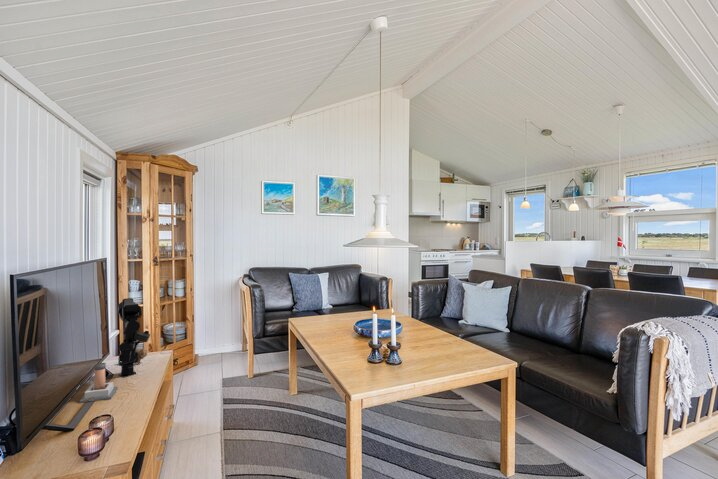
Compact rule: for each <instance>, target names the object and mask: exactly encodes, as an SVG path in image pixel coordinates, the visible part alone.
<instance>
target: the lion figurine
mask: <svg viewBox="0 0 718 479" xmlns="http://www.w3.org/2000/svg"><path fill="white" fill-rule="evenodd" d="M136 352H137V353H138V354H139V356H138V362H137V363H136V365H137V366H140V365H141V364H142V362H141V360H144V359H145V358H146V357H147V356H148V353H149V351H148V349H146V348H142V349H140V350H138V351H136Z"/></svg>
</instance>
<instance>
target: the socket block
mask: <svg viewBox="0 0 718 479" xmlns="http://www.w3.org/2000/svg"><path fill="white" fill-rule="evenodd" d="M114 384H115V383H114V381H112V382H111V381H110V382H105V389H101V390H94V383H93V384H90V385H89V387H88V388H87V389H86V390H85V391H84V395H83V396H82V397H81V399H80V400H79V404H83V403H84V402H85V403H87V402H86V401H87V400H88V399H89V398H91V397H94V398H95V399H94V400H95V401H94V402H100V401H107V400H112V398H113V397H114V395H115V394H116V393H117V390H118V389H119V386H115V385H114Z"/></svg>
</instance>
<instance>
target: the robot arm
mask: <svg viewBox="0 0 718 479" xmlns="http://www.w3.org/2000/svg"><path fill="white" fill-rule="evenodd" d="M117 314H118V315H119V319H120V321H122V342H121V344H119V345H118V350H119V352H120V353H119V354H118V358H117V359H118V362H117V363H118V366H121V368H120V369H121V372H119V373H118V376H120V377H122V378H127V377H129V376H133V375H136V374H137V372H136V371H135V370H134V369H135V364H137V362H138V356H139V354H138V353H137V352H138V351H137V347H138V345H139V344H140V343H141V342H143V343H147V342H148V341H149V339H150V337H151V333H150V331H149V330H145V331H140V330H139V329H140V328H141V326H140V322H139V320H138V319H141V317H142V314H143V312H142V307H141V306H140V305H139V303H136V302H135V301H134V298H132V297H129V298H124V299H123V298H122V301H121V302H120V303H119V304H118V305H117Z"/></svg>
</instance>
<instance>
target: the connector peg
mask: <svg viewBox="0 0 718 479" xmlns="http://www.w3.org/2000/svg"><path fill="white" fill-rule="evenodd" d="M106 365H107V363H106V362H99V363H96V364H94V383H93V384H94V390H101V389H105V383H106V368H107V366H106Z"/></svg>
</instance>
